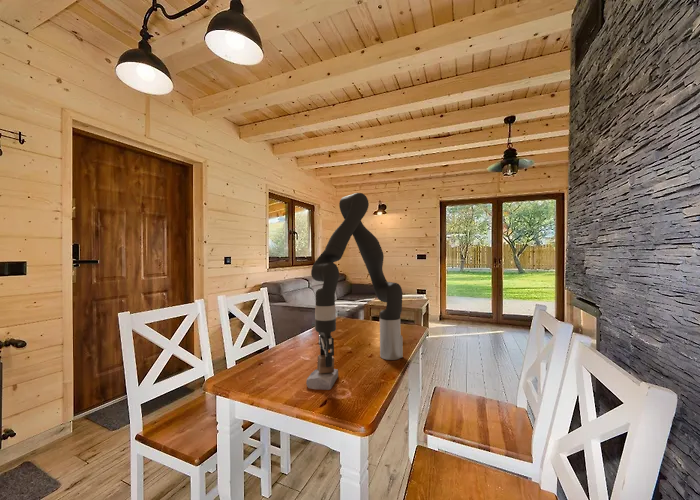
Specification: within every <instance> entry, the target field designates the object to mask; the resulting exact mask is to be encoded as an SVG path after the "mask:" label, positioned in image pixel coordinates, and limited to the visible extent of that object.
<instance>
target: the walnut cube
mask: <svg viewBox="0 0 700 500" xmlns="http://www.w3.org/2000/svg"><path fill="white" fill-rule="evenodd" d="M316 363H317V366H316V367H317V368H316V369H318V371H319V373H320V374H321V373H333V372H334V369H335V357H334V356H332V366H331V367H326V362H325V355H320V354H318V355H317V362H316Z"/></svg>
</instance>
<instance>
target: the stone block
mask: <svg viewBox="0 0 700 500" xmlns="http://www.w3.org/2000/svg"><path fill="white" fill-rule="evenodd" d="M338 378H339V370H338V368H334V372H333V373H321V374H320V373H319V371H318V369H317V368H316V369H314V370H313V371H312V372H311V373H310V374H309V376H307V378H306V380H305V381H306V386H307V388H308V389H312V390H323V391H324V390H325V391H326V390H327V391H330V390H331V389H332V388H333V387H334V385H335V382H336V381H337V379H338Z"/></svg>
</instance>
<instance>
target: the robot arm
mask: <svg viewBox="0 0 700 500" xmlns="http://www.w3.org/2000/svg"><path fill="white" fill-rule="evenodd" d="M338 206H339V212H340V213H341V215H342V218H343V219H344V220H343V221H342V222H341V224H340V225H339V226H338V227H337V228H336V229H335V230H334V232H333V233H332V234H331V236H330V238H329V239H328V242H327V244H326V246H325V249H323V251H322V252H321V254H320V255H318V256H319V257H318V258H317V259H316V260H315V262H314V263H313V265H312V267H311V270H310V274H311V277H312V279H313V280H314V281H316V282H321V283H322V282H323V284H322V287H321V288H318V289H316V290H315V309H314V331H316V332H318V346H319V353H320V354H319V355H325V362H326V367H331V366H332V356H333V357H334V356H335V343H334V342H335V338H334V337H333V336H332V333H334V332H335V331H336V329H337V314H336V313H337V310H336V290H337V285H338V282H339V278H340V271H339V267H338V266H337V264H336V262H338V261H340V260H341V259H342V257H343V255H344V253H345V251H346V248H347V246H348V243H349V241H350V239H351V238H352V237H353V239H354V241H355V244H356V246H357V248H358V251H359V253H360V255H361V258H362V261H363V262H364V265H365V268H366V270H367V272H368V275H369V277H370V280H371V284H372V286H373V290H374V291H373V292H374V293H375V296H376V297H377V300H379V301H380V302H382V303H383V302H384V303H386V308H385V309H382V310H381V311H379V356H380V358H382V359H383V360H387V361H396V360H400V359H401V358H404V357H403V355H404V354H403V353H404V351H403V345H404V344H403V343H404V341H403V340H404V338H403V335H402V334H401V331H402V330H401V329H402V328H401V314H402V310H403V289H402V287H401V285H400V284H399V283H397V282H391V281H387V279H386V277H385V274H384V270H383V265H384V256H385V255H384V252H383V248H382V246H381V244H380V242H379V240H378V238H377V237H376V236H375V235H374V234H373V233H372V232H371V231H370V230H369V229H368V228H366V226H365V225H364V223H363V222H362V219H363V218H364V216H365V215H366V213H367V212H368V210H369V199H368V197H367V195H365V193H363V192H355V193H352V194H349V195H346V196H342V197H341V198H340V200H339V205H338Z"/></svg>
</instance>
